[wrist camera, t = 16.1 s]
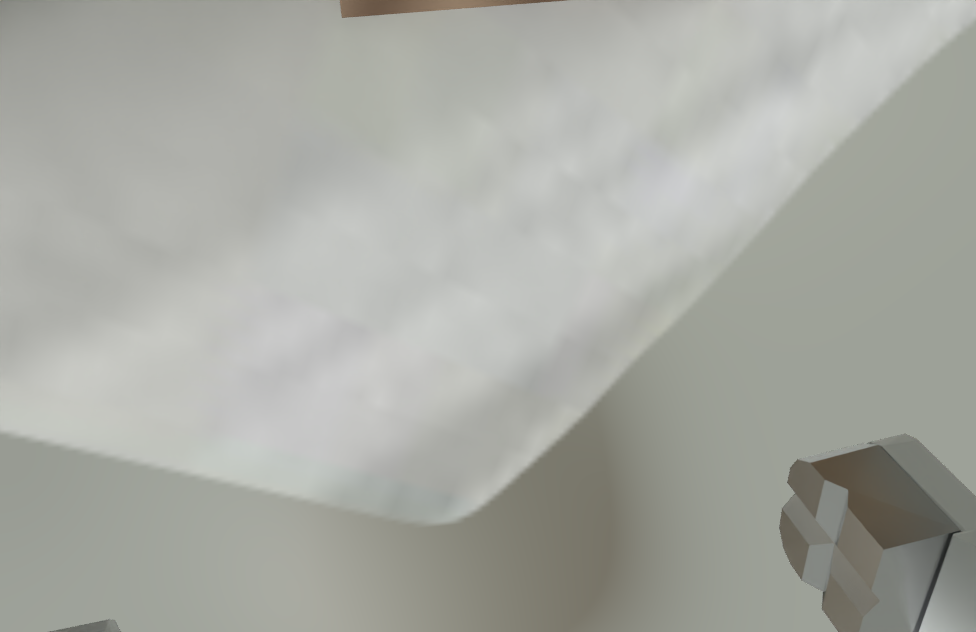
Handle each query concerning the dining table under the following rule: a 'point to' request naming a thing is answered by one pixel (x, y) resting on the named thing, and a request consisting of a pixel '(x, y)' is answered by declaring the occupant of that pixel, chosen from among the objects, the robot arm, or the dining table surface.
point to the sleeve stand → (417, 5)
